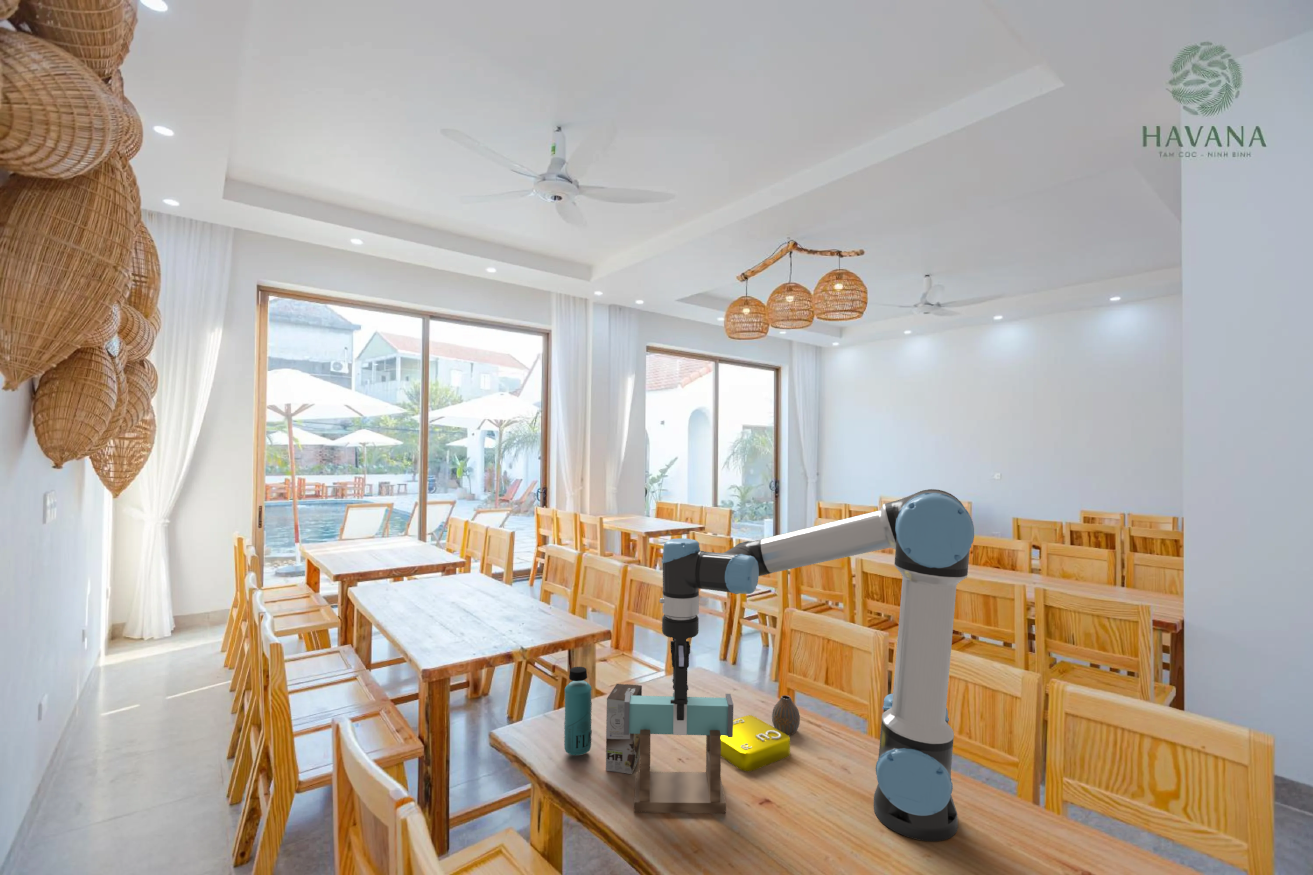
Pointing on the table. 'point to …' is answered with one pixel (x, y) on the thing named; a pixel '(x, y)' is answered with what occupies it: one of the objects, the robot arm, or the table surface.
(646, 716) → the teal bar
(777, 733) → the element tile
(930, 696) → the robot arm
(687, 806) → the rack
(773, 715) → the vase
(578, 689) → the beverage bottle
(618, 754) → the coffee box
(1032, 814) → the table surface
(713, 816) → the table surface
